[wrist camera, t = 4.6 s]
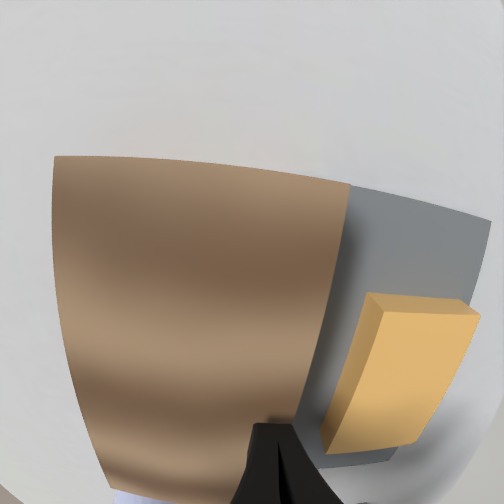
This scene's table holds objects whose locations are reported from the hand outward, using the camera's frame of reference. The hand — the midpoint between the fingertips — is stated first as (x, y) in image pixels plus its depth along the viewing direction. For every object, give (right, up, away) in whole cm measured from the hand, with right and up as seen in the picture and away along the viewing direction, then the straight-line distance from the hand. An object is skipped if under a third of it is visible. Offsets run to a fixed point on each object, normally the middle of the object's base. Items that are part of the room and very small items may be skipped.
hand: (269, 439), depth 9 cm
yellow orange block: (+7, 0, +3) cm, 7 cm away
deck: (-4, +2, +5) cm, 6 cm away
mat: (+5, +1, +5) cm, 7 cm away
